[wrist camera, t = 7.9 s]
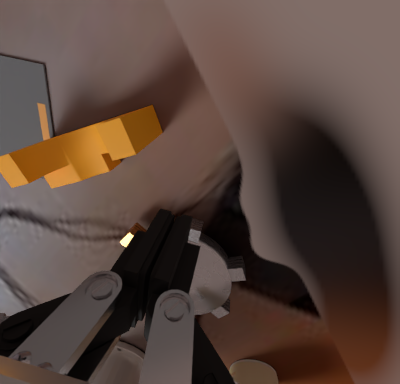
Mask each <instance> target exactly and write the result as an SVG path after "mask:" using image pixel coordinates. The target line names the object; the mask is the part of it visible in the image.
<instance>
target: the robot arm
mask: <svg viewBox="0 0 400 384" xmlns="http://www.w3.org/2000/svg"><path fill="white" fill-rule="evenodd" d="M174 217H175V216H174V215H172V214H171V211H167V210H163V209H160V210H159V212H158V213H157V215H156V217H155V218H154V220H153V222H152V223H151V225H150V226H149V228H148V230H147V231H146V232H144V231H140V230H138V231H137V232H136V233H135V235H134V236H133V238H132V239H131V241H130V242H129V244H128V245H127V246H126V248H125V249H124V251H123V252H122V254H121V255H120V257H119V258H118V260H117V261H116V263H115V264H114V266H113V267H112V269H111V270H110V271H100V272H96V273H94V274H92V275H90V276H89V277H88V278H86V279H85V280H84V281H83V282H82V283H81V284H80V285H79V286H78V287H77V288H76V289H75V290H74V291H73V292H72V293H70V294H67V295H64V296H61V297H59V298H56V299H53V300H51V301H48V302H45V303H43V304H40V305H37V306H34V307H32V308H29V309H26V310H24V311H21V312H18V313H16V314H14V315H12V316H6V314H5V313H0V384H239V383H237V382H236V381H234V380H233V378H232V376H231V374H230V373H229V371H228V369H227V368H226V366H225V365H224V363H223V361H222V360H221V358H220V357H219V355H218V354H217V352H216V350H215V349H214V347H213V346H212V344H211V342H210V341H209V339H208V338H207V336H206V335H205V333H204V331H203V330H202V328H201V327H200V325H199V324H198V322H197V320H196V319H195V317H194V315H195V307H194V302H193V300H192V298H191V297H190V296H189V292H190V288H191V284H192V280H193V276H194V271H195V267H196V263H197V259H198V255H199V251H200V247H201V246H198V245H194V244H191V243H188V239H189V234H190V229H191V224H192V218H193V217H191V216H187V215H183V214H182V216H181V217H180V216H177V218H176V220H175V222H174ZM145 313H146V319H145V329H144V336H145V338H146V341H147V347H146V351H145V354H144V353H143V352H142V351H140V350H139V349H137V348H136V347H134V346H132V345H130V344H127V343H124V342H121V341H119V339H120V337H121V334H123V333H125V332H127V331H129V329H130V327H134V328H135V326H136V324H137V321H138V320H140V321H142V320H143V318H144V316H145Z"/></svg>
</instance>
